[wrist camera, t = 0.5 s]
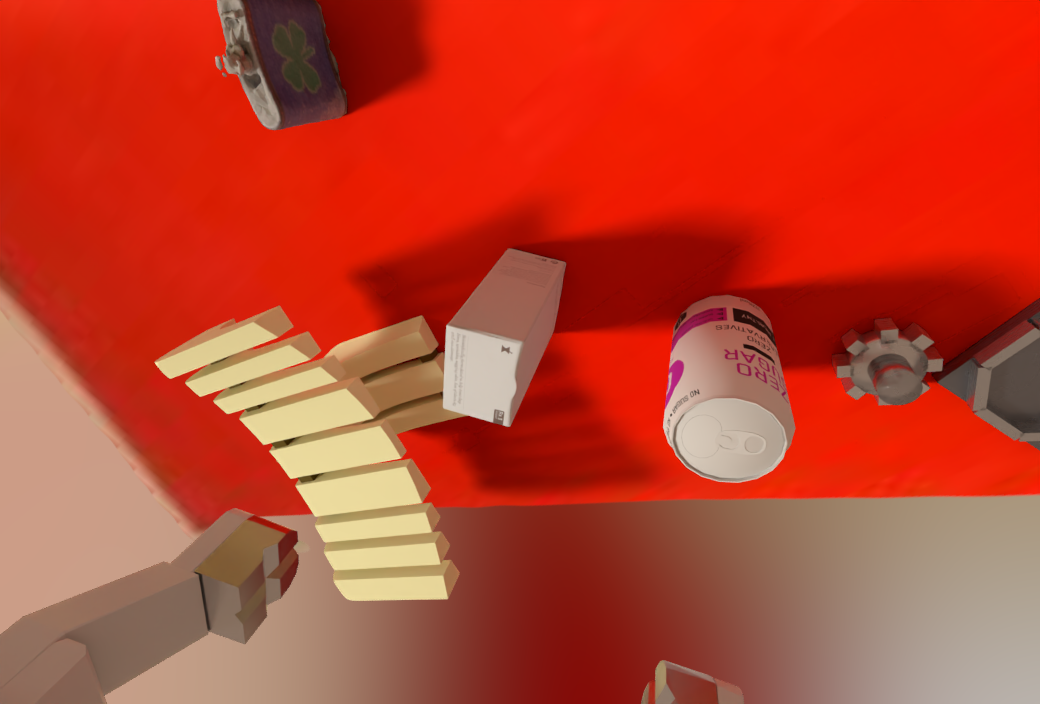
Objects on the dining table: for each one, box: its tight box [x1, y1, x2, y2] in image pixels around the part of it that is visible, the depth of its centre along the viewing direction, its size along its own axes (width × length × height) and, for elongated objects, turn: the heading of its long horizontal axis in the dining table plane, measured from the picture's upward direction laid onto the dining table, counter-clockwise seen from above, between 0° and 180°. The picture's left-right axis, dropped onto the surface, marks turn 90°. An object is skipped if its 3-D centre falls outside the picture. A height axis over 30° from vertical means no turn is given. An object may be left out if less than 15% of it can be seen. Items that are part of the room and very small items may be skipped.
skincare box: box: [443, 248, 566, 427], centre depth 43 cm, size 8×6×15 cm
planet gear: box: [832, 318, 943, 405], centre depth 40 cm, size 7×7×5 cm
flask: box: [216, 0, 347, 130], centre depth 39 cm, size 9×3×11 cm, turn 9°
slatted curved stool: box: [154, 306, 468, 601], centre depth 53 cm, size 30×16×18 cm, turn 26°
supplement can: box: [663, 295, 795, 483], centre depth 39 cm, size 8×8×15 cm
